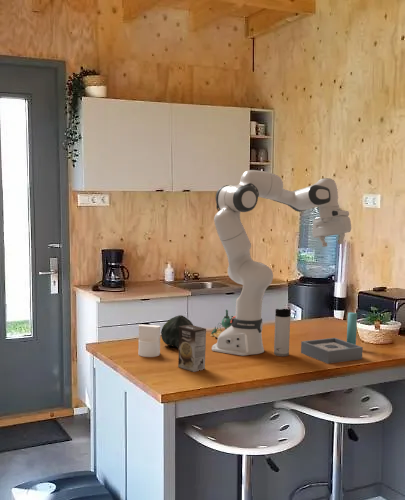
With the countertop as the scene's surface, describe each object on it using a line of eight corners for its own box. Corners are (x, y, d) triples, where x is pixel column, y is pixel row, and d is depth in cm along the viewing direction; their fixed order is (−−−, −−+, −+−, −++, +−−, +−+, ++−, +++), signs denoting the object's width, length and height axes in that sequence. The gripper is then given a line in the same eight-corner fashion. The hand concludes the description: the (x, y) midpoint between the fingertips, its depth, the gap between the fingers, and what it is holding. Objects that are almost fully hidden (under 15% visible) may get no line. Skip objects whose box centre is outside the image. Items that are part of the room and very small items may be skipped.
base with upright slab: (162, 352, 268) (163, 324, 267) (155, 357, 260) (156, 328, 258) (142, 350, 271) (143, 322, 269) (135, 355, 262) (135, 327, 261)
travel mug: (277, 357, 265) (279, 309, 263) (271, 353, 271) (273, 306, 269) (291, 356, 266) (293, 309, 264) (285, 352, 273) (287, 306, 271)
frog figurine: (222, 333, 306) (225, 303, 303) (244, 345, 291) (248, 314, 288) (205, 335, 300) (208, 305, 298) (227, 348, 286) (230, 316, 283)
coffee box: (177, 367, 247) (178, 326, 245) (189, 364, 251) (190, 323, 250) (193, 372, 240) (194, 330, 239) (205, 369, 245) (206, 328, 243)
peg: (345, 349, 279) (347, 313, 278) (346, 347, 283) (348, 312, 281) (355, 350, 278) (356, 314, 276) (355, 348, 282) (357, 312, 280)
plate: (328, 358, 260) (329, 351, 260) (311, 351, 271) (311, 344, 270) (351, 355, 266) (352, 348, 265) (333, 348, 276) (333, 342, 276)
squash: (171, 327, 290) (164, 307, 280) (202, 332, 286) (196, 311, 275) (161, 353, 281) (153, 333, 271) (193, 358, 277) (186, 338, 266)
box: (327, 363, 256) (328, 351, 256) (300, 352, 272) (301, 341, 272) (362, 358, 265) (362, 347, 264) (334, 348, 280) (334, 337, 280)
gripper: (308, 218, 292) (310, 248, 290) (342, 210, 275) (345, 242, 274) (317, 218, 295) (320, 248, 294) (351, 211, 279) (355, 242, 278)
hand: (332, 245), depth 284 cm, fingers open, 8 cm apart
